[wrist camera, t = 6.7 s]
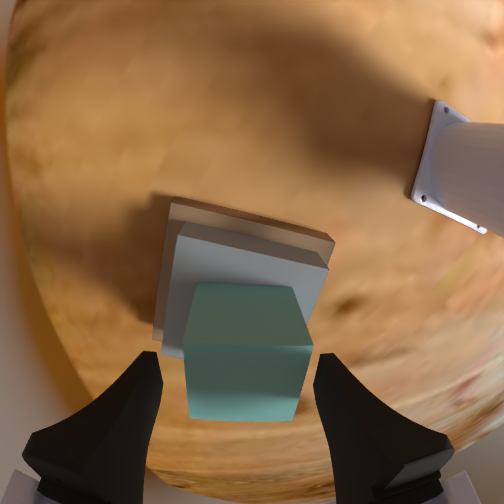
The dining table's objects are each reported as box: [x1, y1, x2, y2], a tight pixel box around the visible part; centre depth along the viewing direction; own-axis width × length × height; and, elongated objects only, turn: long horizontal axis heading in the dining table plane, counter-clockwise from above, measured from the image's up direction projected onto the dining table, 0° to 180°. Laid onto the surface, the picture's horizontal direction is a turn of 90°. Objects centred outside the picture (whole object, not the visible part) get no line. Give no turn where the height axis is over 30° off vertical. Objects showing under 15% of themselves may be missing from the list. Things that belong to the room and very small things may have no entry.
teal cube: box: [183, 282, 314, 421], centre depth 14 cm, size 5×5×5 cm
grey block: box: [161, 221, 329, 360], centre depth 17 cm, size 8×8×2 cm
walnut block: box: [152, 197, 335, 342], centre depth 19 cm, size 10×10×2 cm
